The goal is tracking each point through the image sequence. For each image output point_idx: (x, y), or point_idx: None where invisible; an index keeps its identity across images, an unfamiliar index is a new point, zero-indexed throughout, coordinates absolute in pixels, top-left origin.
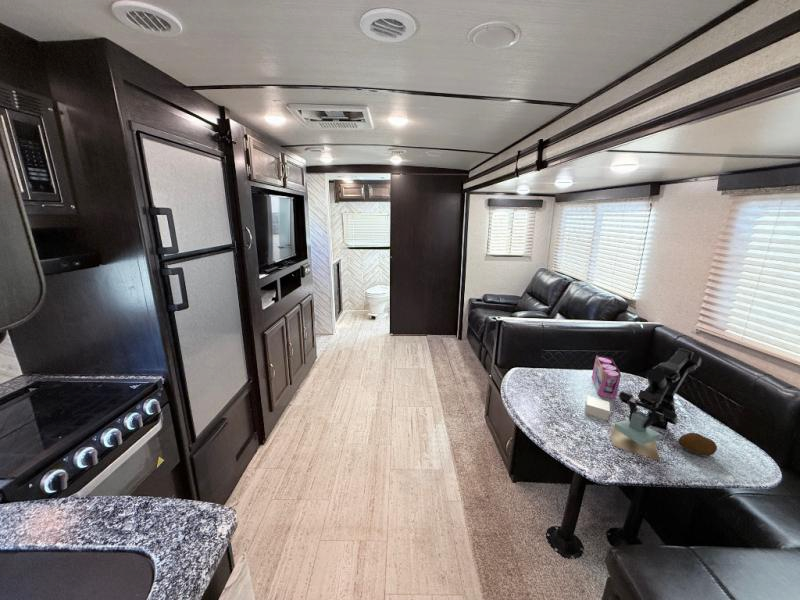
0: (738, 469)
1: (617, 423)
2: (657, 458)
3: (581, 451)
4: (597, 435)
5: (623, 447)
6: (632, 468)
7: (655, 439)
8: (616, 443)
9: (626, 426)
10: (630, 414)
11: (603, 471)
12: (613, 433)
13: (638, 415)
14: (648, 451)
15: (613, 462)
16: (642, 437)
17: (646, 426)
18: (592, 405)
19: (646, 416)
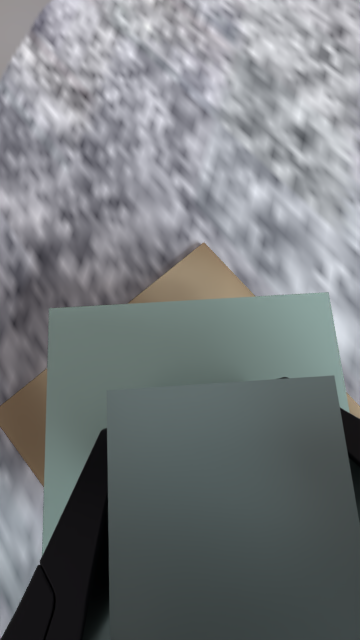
0: None
1: (316, 307)
2: (11, 417)
3: (204, 51)
4: (302, 240)
5: (162, 288)
6: (24, 187)
7: None
8: (204, 279)
9: (255, 354)
10: (357, 427)
11: (64, 40)
12: None
13: (235, 431)
14: None
15: (92, 132)
16: (74, 344)
17: (92, 460)
18: None
19: (158, 612)
